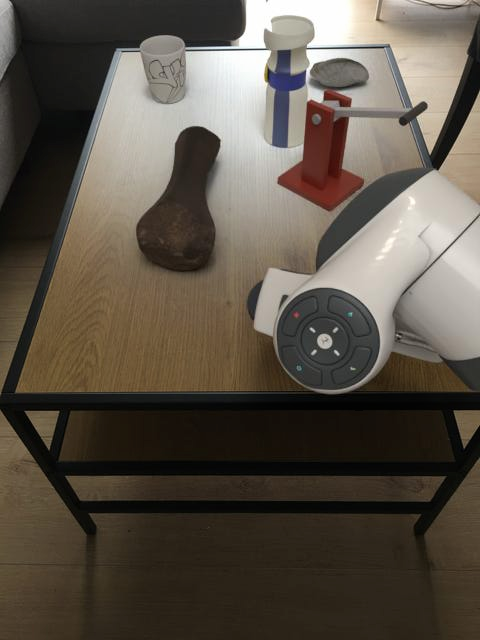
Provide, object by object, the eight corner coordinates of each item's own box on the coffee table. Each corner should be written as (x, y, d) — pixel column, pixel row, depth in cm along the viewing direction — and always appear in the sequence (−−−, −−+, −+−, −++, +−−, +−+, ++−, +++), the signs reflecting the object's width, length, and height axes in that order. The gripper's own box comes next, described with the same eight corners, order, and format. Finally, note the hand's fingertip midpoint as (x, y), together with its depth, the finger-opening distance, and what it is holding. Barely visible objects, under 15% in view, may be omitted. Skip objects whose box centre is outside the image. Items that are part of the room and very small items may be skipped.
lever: (428, 114, 71) (427, 96, 70) (407, 130, 69) (406, 112, 67) (332, 112, 82) (329, 96, 80) (311, 126, 80) (308, 110, 78)
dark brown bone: (193, 290, 78) (211, 188, 98) (225, 238, 71) (238, 140, 91) (121, 260, 75) (156, 161, 95) (148, 203, 68) (179, 110, 88)
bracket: (363, 185, 89) (379, 100, 77) (330, 211, 85) (341, 126, 73) (311, 159, 94) (318, 76, 82) (277, 183, 90) (280, 99, 78)
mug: (157, 77, 113) (149, 27, 105) (196, 79, 112) (191, 29, 105) (143, 106, 106) (134, 54, 98) (185, 108, 105) (179, 56, 97)
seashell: (366, 73, 112) (370, 48, 108) (368, 93, 107) (372, 68, 103) (308, 71, 113) (310, 47, 109) (308, 92, 108) (310, 67, 104)
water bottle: (255, 145, 97) (254, -8, 77) (269, 120, 102) (271, -30, 82) (299, 153, 95) (310, -2, 75) (311, 127, 100) (324, -25, 80)
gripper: (472, 319, 47) (455, 310, 60) (253, 262, 52) (282, 266, 65) (451, 387, 48) (439, 364, 61) (237, 325, 53) (269, 315, 66)
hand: (356, 313), depth 63 cm, fingers open, 5 cm apart
